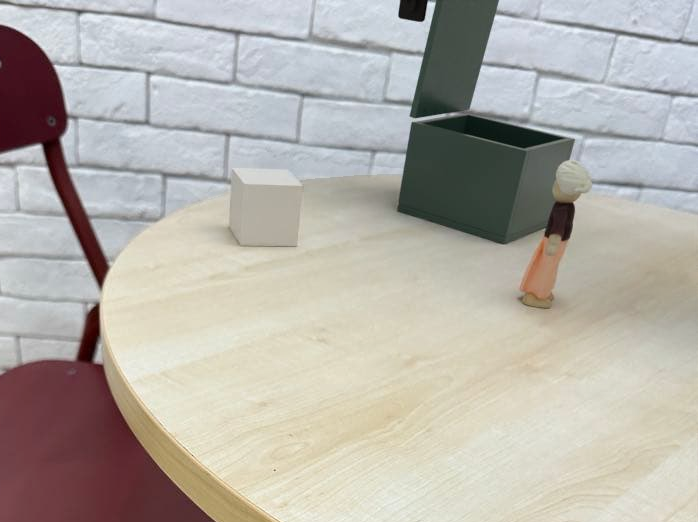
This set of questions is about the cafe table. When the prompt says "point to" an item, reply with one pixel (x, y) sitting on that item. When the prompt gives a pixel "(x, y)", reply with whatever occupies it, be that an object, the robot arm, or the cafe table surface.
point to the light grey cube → (265, 207)
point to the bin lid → (453, 56)
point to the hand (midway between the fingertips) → (433, 19)
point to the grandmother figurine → (555, 234)
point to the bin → (481, 175)
